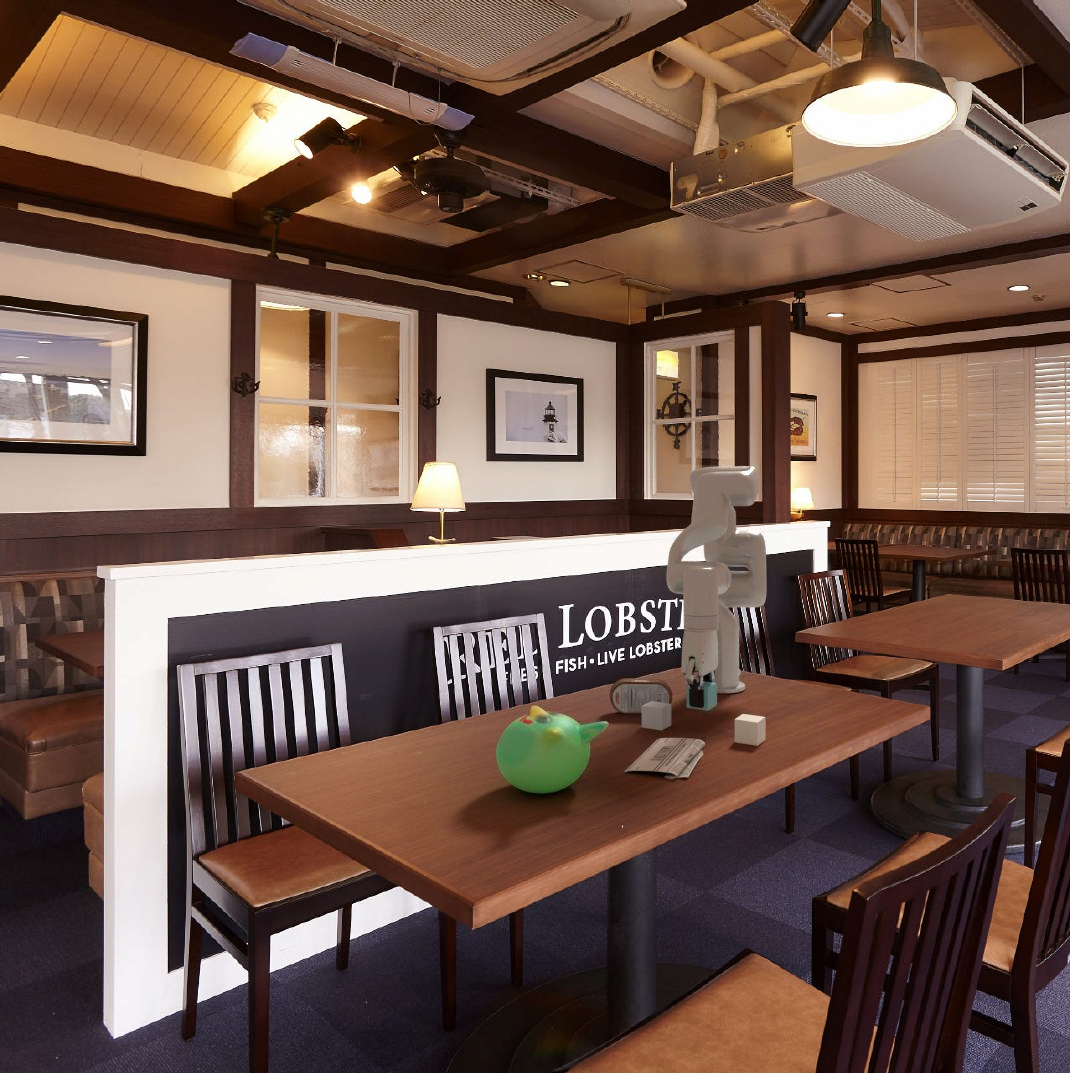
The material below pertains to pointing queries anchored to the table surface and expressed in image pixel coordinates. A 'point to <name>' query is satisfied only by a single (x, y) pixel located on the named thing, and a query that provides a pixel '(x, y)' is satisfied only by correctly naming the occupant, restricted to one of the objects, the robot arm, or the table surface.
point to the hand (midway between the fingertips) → (701, 703)
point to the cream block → (750, 729)
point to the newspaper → (670, 757)
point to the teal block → (706, 696)
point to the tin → (638, 694)
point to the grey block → (656, 715)
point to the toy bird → (545, 750)
